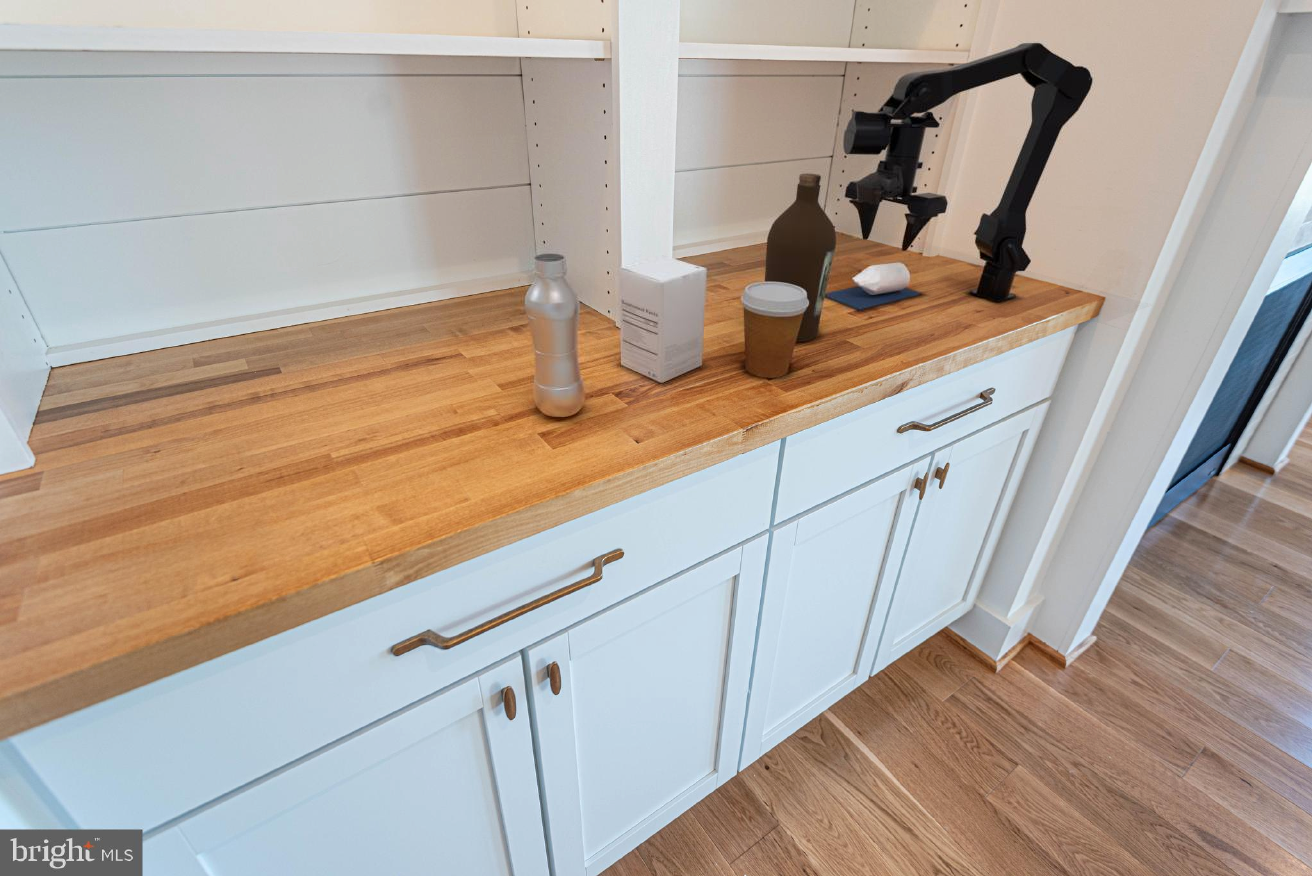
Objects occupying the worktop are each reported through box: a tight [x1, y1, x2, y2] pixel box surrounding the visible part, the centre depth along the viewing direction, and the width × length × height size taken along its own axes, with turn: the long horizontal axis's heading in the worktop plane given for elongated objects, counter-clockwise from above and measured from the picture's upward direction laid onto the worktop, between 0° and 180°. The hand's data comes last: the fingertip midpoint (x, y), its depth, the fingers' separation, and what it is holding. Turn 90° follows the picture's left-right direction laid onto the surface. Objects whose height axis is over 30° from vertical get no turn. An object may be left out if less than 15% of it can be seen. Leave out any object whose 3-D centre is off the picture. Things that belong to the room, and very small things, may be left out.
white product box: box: [618, 255, 708, 384], centre depth 91 cm, size 9×9×15 cm
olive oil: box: [764, 173, 837, 344], centre depth 101 cm, size 11×11×25 cm
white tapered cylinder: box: [851, 262, 911, 295], centre depth 124 cm, size 6×12×6 cm, turn 118°
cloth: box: [824, 285, 923, 311], centre depth 125 cm, size 18×10×1 cm, turn 123°
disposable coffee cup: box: [740, 281, 809, 379], centre depth 92 cm, size 10×10×12 cm
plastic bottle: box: [524, 252, 586, 418], centre depth 78 cm, size 6×7×20 cm
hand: (884, 244), depth 120 cm, fingers open, 9 cm apart
